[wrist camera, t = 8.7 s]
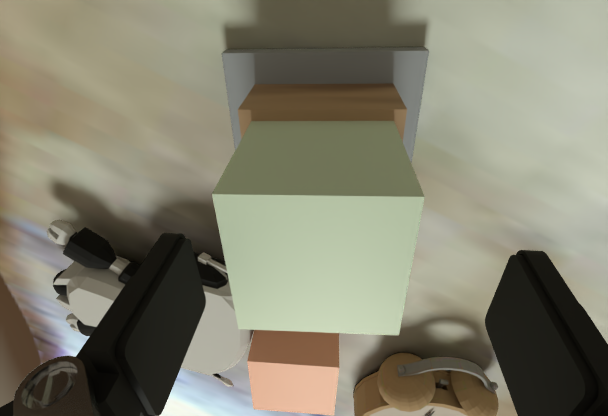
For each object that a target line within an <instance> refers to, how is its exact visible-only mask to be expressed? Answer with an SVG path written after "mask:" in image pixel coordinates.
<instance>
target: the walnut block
mask: <svg viewBox="0 0 608 416" xmlns="http://www.w3.org/2000/svg"><path fill="white" fill-rule="evenodd" d="M406 114H407V108H406V106H405V104H404V103H403V101H402V99H401V97H400V95H399V93H398V91H397V89H396V87H395V86H394V84H393V83H386V84H255V85H254V86H253V88H252V89H251V91H250V92H249V94H248V95H247V97H246V98H245V100H244V101H243V103H242V104H241V105H240V107H239V108H238V116H239V124H240V132H241V139H242V138H243V136H244V134H245V132H246V130H247V128H248V126H249V125H250V123H251V121H394V122H395V125H396V127H397V129H398V132H399V134H400V137H401V139H402V142H403V136H404V128H405V121H406Z"/></svg>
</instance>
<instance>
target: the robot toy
mask: <svg viewBox="0 0 608 416" xmlns="http://www.w3.org/2000/svg"><path fill="white" fill-rule="evenodd" d="M49 227H50V228H49V229H48V230H47V235H48V237H49V238H50V239H51V240H52V241H53V242H55V243H56V244H61V245H67V246H66V247H65V249H64V251H63V254H64V255H66V256H67V257H69V258H71V259H72V260H74V262H73V263H72V264H71V265H70V266H69V267H68V268H67V269H65V270H63V271H61V272H60V273H58V274H57V275H56V277H55V278H54V282H53V287H54V289H55V291H56V292H57V293H58V294H60V295H59V296H58V297H57V298H56V299H57V300H58V301H59V303H60V304H61V305H62V306H63V307H64V308H66V309H68V310H70V311H72V312H73V313H72V314H70V315H68V316H67V318H66V321H67V323H69V324H71V325H70V326H71V328H72V329H73V330H74V331H78V332H81V333H82V334H84V335H85V336H91V334H92V333H93V331H94V330H95V328H96V327H97V325H98V324H99V322H100V321H101V319H102V318H103V317H104V315H105V314H106V312H107V311H108V309H109V308H110V306H111V305H112V303H113V302H114V300H115V299H116V298H117V296H118V295H119V293H120V292H121V290H122V289H123V287H124V286H125V284H126V283H127V281H128V280H129V279H130V278H131V277H132V276H134V275H135V273H136V272H137V270H138V269H139V267H140V265H138V264H137V263H135V262H129V261H128V260H127V259H124V258H121V257H119V256H116V255H115V253H114V251H113V249H112V247H111V246H110V244H109V242H108V241H107V240H105V239H104V238H102V237H100V236H99V235H97V234H96V233H94V232H92V231H91V230H89V229H88V228H86V227H85V228H84V229H82V230H81V231H80V232H78V233H77V232H76V231H75V229H74V228H73V227H72V225H71V224H70V223H67V222H65V221H62V220H56V221H53V222H52V223H51V224H50V226H49ZM194 256H195V259H196V263H197V267H198V271H199V274H200V278H201V282H202V286H203V289H204V293H205V297H206V306H205V309H204V312H203V314H202V317H201V319H200V322H199V324H198V326H197V329H196V331H195V334H194V336H193V339H192V341H191V343H190V346H189V348H188V351H187V353H186V356H185V358H184V361H183V363H182V365H181V368H184V369H188V370H191V371H195V372H199V373H202V374H206V375H211V376H213V377H215V378H216V379H218V380H220V381H221V382H223V384H225V385H226V386H233V384H232V382H231V380H229V379H227V378H224V377H222V376H220V375H219V374H217V373H219V372H223V371H226V370H228V369H230V368H232V367H234V366H235V365H236V364H237V363H238V362H239V360H240V359H241V358H242V356H243V354H244V353H245V351H246V349H247V347H248V345H249V343H250V341H251V337H252V334H253V331H254V330H249V329H238V324H237V319H236V314H235V309H234V304H233V299H232V294H231V289H230V284H229V278H228V273H227V268H226V263H225V261H223V260H220V259H216V258H212V257H211V256H210V255H208V254H206V253H204V252H203V253H202V254H198V253H194Z"/></svg>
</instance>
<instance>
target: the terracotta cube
mask: <svg viewBox="0 0 608 416" xmlns="http://www.w3.org/2000/svg"><path fill="white" fill-rule="evenodd" d="M247 362H248V370H249V377H250V385H251V393H252V401H253V408H254V409H258V410H271V411H284V412H297V413H310V414H324V415H334V410H335V401H336V392H337V383H338V374H339V333H325V332H299V331H274V330H254V334H253V338H252V343H251V347H250V352H249V356H248V361H247Z"/></svg>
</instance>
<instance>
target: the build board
mask: <svg viewBox="0 0 608 416" xmlns="http://www.w3.org/2000/svg"><path fill="white" fill-rule="evenodd" d="M428 54H429V50H428V49H426V48H425V47H385V48H308V49H232V50H225V51H224V52H223V53H222V59H223V66H224V73H225V81H226V88H227V95H228V102H229V109H230V116H231V123H232V131H233V138H234V145H235V151H236V149H237V147H238V145H239V143H240V141H241V132H240V124H239V116H238V108H239V107H240V105H241V104H242V103H243V101H244V100H245V98H246V97H247V95H248V94H249V92H250V91H251V89H252V88H253V86H254V85H255V84H386V83H393V84H394V86H395V87H396V89H397V91H398V93H399V95H400V97H401V99H402V101H403V103H404V104H405V106H406V108H407V114H406V121H405V128H404V136H403V144H404V147H405V149H406V152H407V154H408V157H409V159H410V162H412V156H413V150H414V143H415V137H416V131H417V124H418V118H419V111H420V105H421V99H422V92H423V86H424V80H425V73H426V67H427V60H428Z"/></svg>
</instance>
